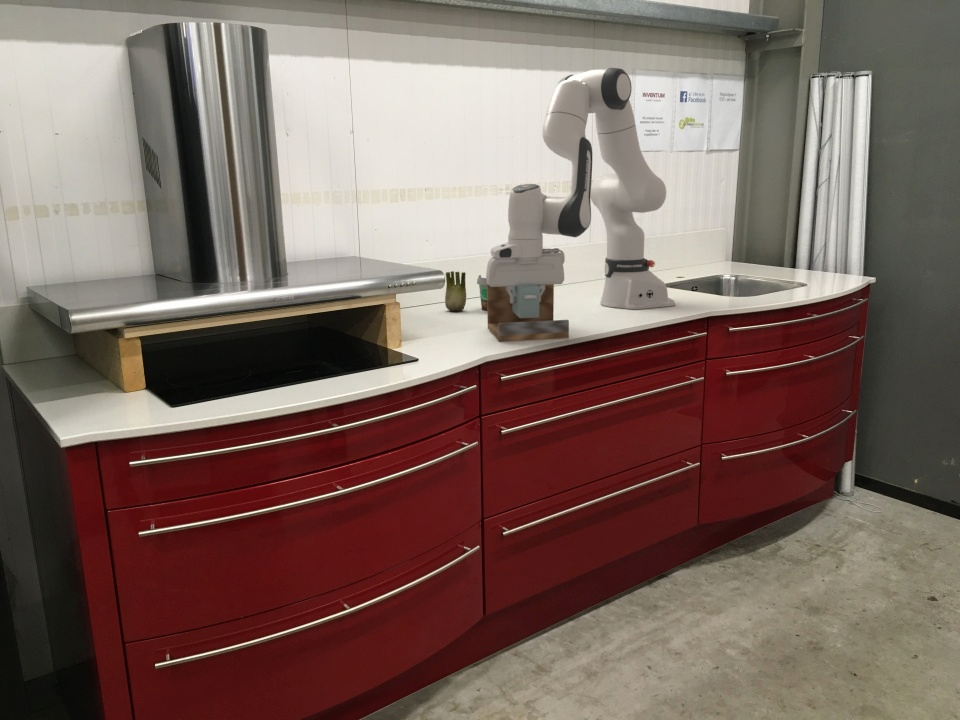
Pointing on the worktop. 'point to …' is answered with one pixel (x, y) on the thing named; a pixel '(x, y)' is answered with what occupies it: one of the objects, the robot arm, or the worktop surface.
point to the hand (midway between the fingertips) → (525, 302)
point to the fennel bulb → (455, 291)
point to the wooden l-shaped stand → (515, 328)
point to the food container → (483, 292)
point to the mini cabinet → (526, 301)
